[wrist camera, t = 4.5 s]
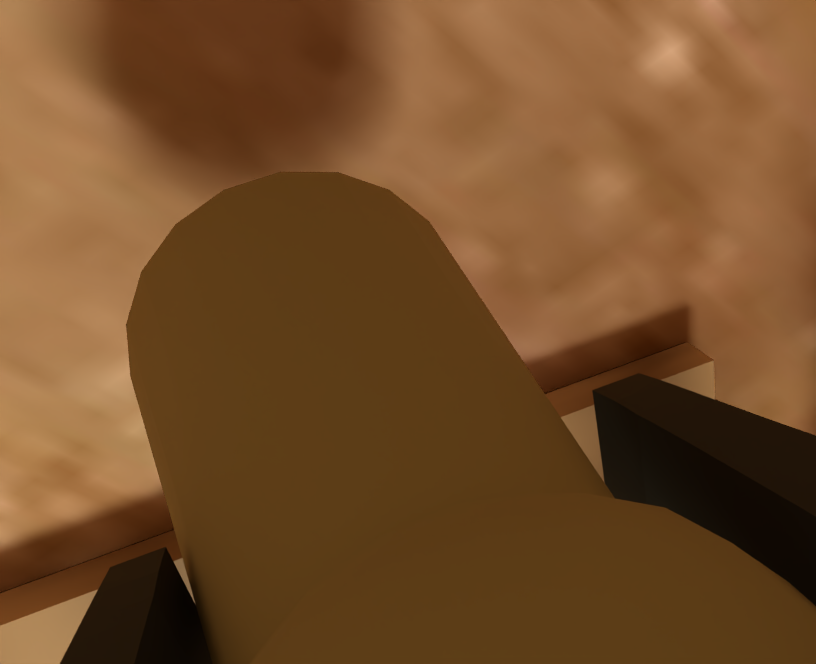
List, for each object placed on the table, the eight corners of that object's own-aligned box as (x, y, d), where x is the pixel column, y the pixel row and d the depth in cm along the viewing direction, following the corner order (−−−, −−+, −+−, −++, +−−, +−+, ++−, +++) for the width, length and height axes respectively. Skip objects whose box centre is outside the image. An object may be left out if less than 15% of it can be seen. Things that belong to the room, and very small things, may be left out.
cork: (47, 277, 12) (-398, 1583, 2) (391, 106, 12) (1283, 507, 3) (235, 535, 15) (409, 1569, 5) (505, 387, 15) (1122, 1059, 6)
